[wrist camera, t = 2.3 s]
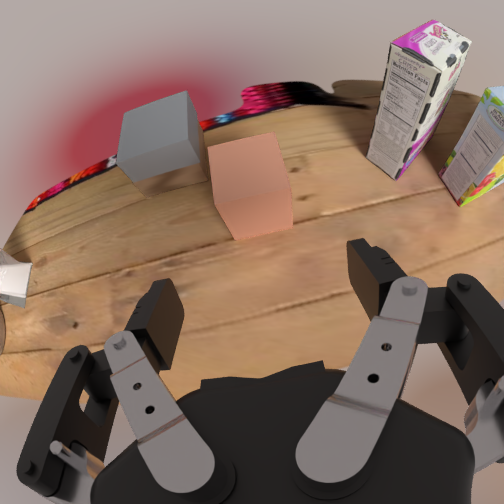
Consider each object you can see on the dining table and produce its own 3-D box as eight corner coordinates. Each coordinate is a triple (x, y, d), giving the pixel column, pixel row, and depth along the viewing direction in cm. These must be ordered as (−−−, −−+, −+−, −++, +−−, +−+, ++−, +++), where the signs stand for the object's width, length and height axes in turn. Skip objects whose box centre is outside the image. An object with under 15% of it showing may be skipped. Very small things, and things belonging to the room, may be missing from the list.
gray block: (133, 182, 29) (115, 163, 26) (138, 132, 32) (124, 113, 28) (200, 162, 29) (188, 139, 25) (196, 113, 31) (186, 90, 28)
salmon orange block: (235, 240, 29) (214, 204, 22) (227, 191, 31) (207, 147, 24) (293, 228, 29) (291, 187, 21) (280, 179, 31) (274, 131, 23)
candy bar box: (403, 115, 31) (432, 17, 16) (433, 136, 30) (474, 41, 14) (361, 157, 30) (388, 38, 15) (395, 183, 29) (446, 71, 13)
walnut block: (147, 199, 33) (132, 182, 29) (149, 150, 36) (136, 133, 32) (208, 181, 32) (198, 162, 29) (203, 133, 35) (194, 113, 31)
